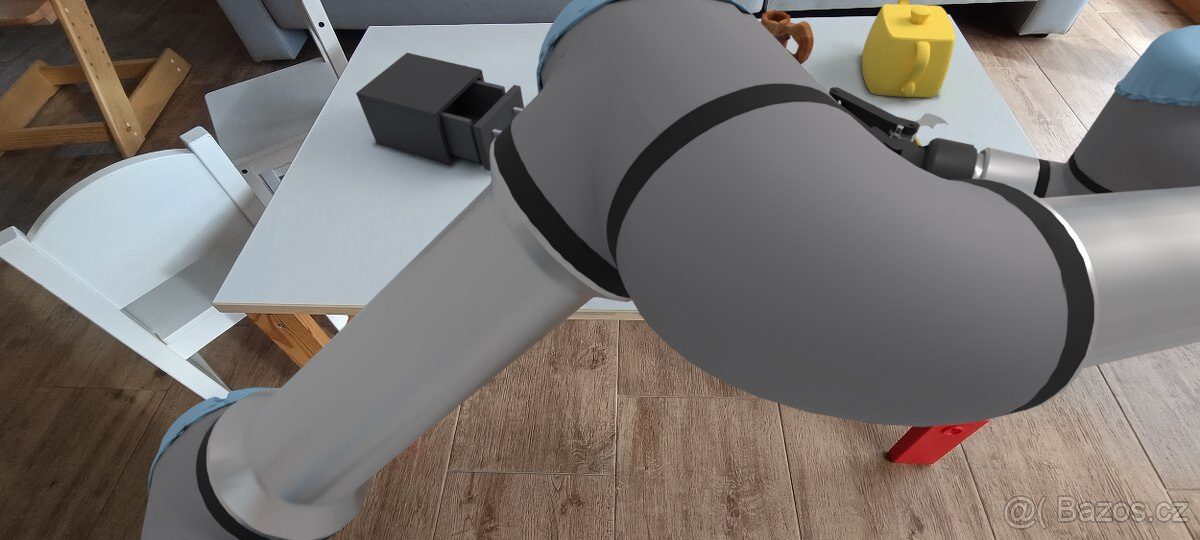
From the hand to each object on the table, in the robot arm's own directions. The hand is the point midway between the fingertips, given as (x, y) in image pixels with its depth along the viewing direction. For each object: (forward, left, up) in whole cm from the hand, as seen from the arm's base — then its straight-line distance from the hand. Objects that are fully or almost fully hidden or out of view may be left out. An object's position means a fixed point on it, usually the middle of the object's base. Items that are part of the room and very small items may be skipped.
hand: (733, 135), depth 60 cm
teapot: (+57, +5, -21) cm, 61 cm away
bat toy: (+40, -3, -21) cm, 45 cm away
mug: (+43, +20, -21) cm, 52 cm away
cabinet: (-7, +52, -21) cm, 57 cm away
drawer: (-4, +43, -20) cm, 48 cm away
